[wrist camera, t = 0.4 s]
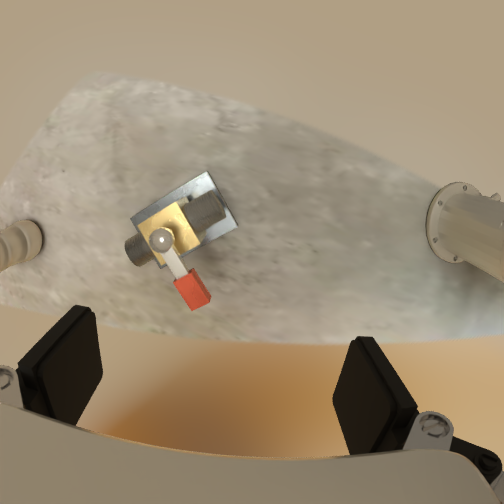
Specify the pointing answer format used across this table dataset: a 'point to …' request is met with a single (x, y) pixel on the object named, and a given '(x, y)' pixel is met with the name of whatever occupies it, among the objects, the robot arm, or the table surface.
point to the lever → (179, 269)
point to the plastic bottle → (19, 243)
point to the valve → (182, 220)
